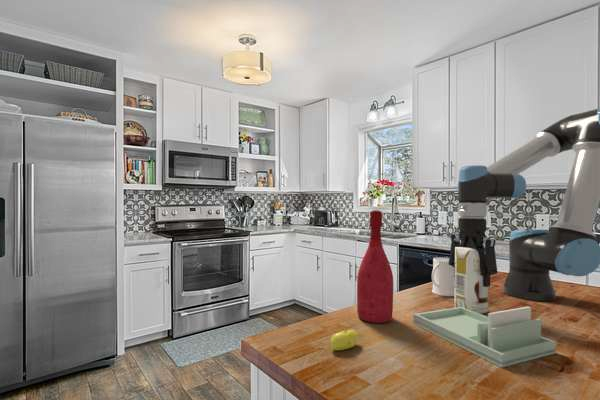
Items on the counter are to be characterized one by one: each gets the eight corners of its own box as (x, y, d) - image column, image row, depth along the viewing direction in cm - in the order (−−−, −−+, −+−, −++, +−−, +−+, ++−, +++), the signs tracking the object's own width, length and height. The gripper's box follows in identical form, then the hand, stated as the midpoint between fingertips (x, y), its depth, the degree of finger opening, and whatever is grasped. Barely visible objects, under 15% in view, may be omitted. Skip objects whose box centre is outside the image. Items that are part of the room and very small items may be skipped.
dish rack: (460, 315, 95) (460, 284, 95) (555, 353, 72) (556, 311, 72) (413, 323, 89) (413, 289, 89) (501, 367, 66) (502, 322, 66)
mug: (440, 299, 111) (441, 263, 111) (420, 292, 119) (421, 259, 119) (463, 294, 117) (464, 260, 117) (442, 288, 124) (443, 256, 124)
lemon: (325, 348, 73) (325, 330, 73) (352, 340, 78) (352, 323, 78) (337, 356, 70) (337, 337, 70) (364, 347, 74) (365, 329, 74)
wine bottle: (399, 318, 93) (400, 210, 93) (381, 327, 86) (383, 211, 85) (368, 309, 99) (369, 209, 99) (349, 318, 92) (351, 210, 92)
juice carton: (450, 308, 102) (450, 246, 101) (470, 305, 105) (471, 245, 105) (471, 316, 95) (472, 250, 95) (492, 312, 98) (493, 248, 98)
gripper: (436, 215, 108) (435, 286, 108) (495, 219, 89) (493, 305, 89) (453, 215, 111) (452, 284, 111) (514, 219, 92) (512, 302, 92)
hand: (471, 293), depth 100 cm, fingers closed on juice carton, 8 cm apart
